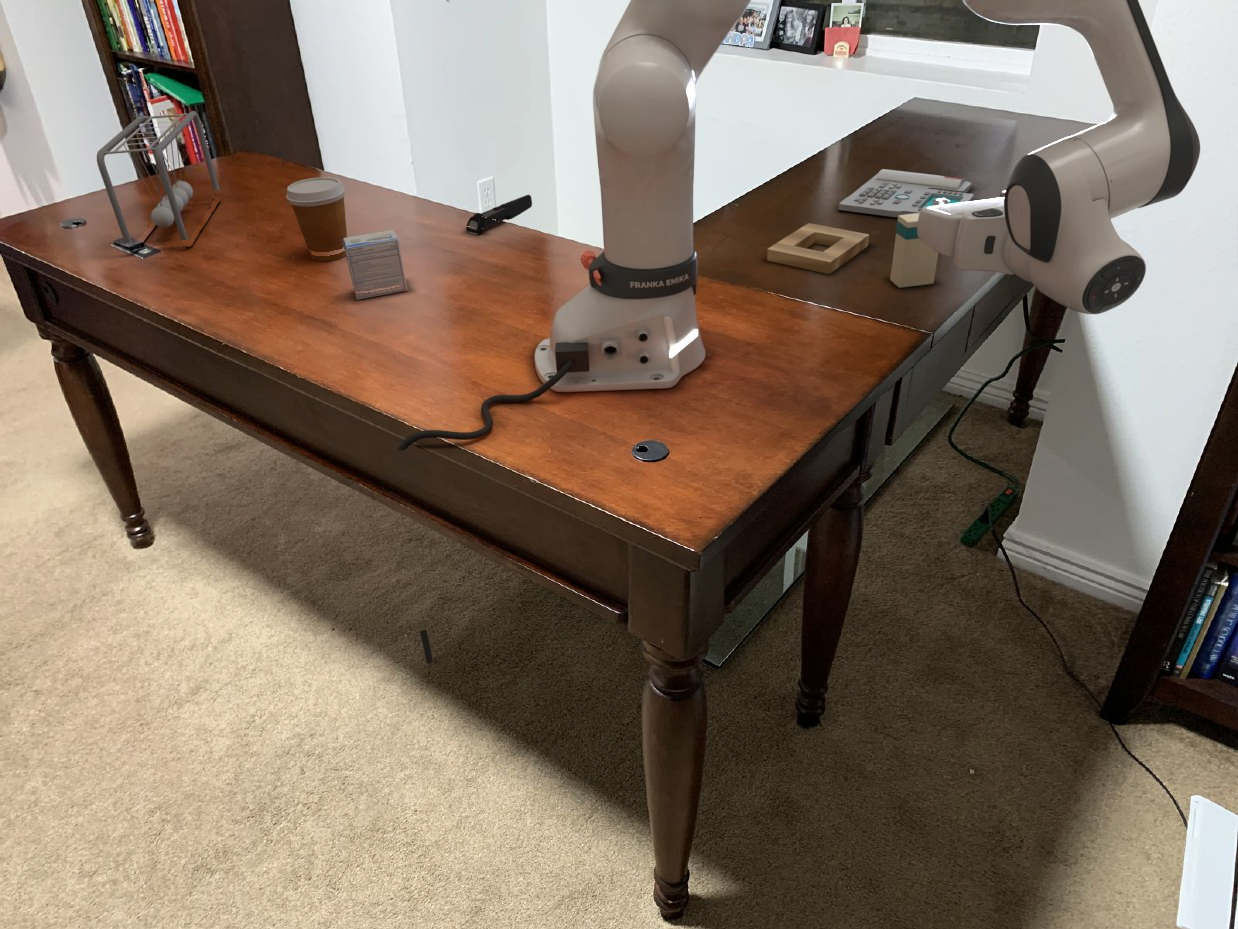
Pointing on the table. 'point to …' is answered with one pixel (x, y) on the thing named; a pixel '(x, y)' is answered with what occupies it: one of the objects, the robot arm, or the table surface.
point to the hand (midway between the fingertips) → (971, 200)
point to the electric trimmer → (498, 214)
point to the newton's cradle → (179, 191)
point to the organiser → (825, 262)
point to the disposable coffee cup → (320, 214)
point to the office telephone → (904, 193)
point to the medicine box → (375, 263)
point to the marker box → (912, 255)
